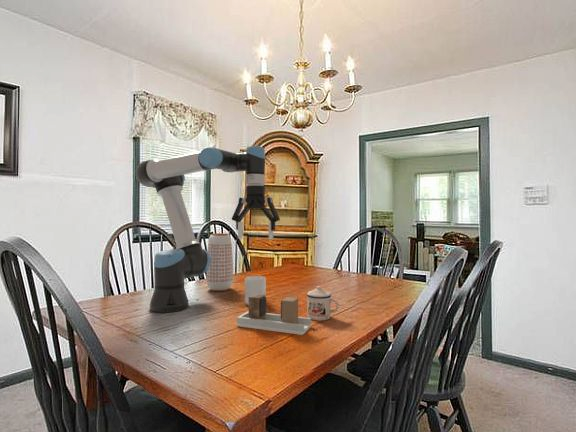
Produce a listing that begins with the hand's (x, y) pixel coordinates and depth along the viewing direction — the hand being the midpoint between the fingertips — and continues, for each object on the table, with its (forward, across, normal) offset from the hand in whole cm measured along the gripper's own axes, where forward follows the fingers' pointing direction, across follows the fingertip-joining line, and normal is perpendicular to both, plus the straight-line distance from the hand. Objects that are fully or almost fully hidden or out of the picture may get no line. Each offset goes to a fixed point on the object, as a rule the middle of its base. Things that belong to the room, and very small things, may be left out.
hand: (255, 238), depth 143 cm
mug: (+29, -4, +10) cm, 31 cm away
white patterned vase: (+29, -33, +27) cm, 52 cm away
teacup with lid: (+29, +28, 0) cm, 40 cm away
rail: (+29, +15, -16) cm, 36 cm away
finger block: (+28, +9, -16) cm, 33 cm away
